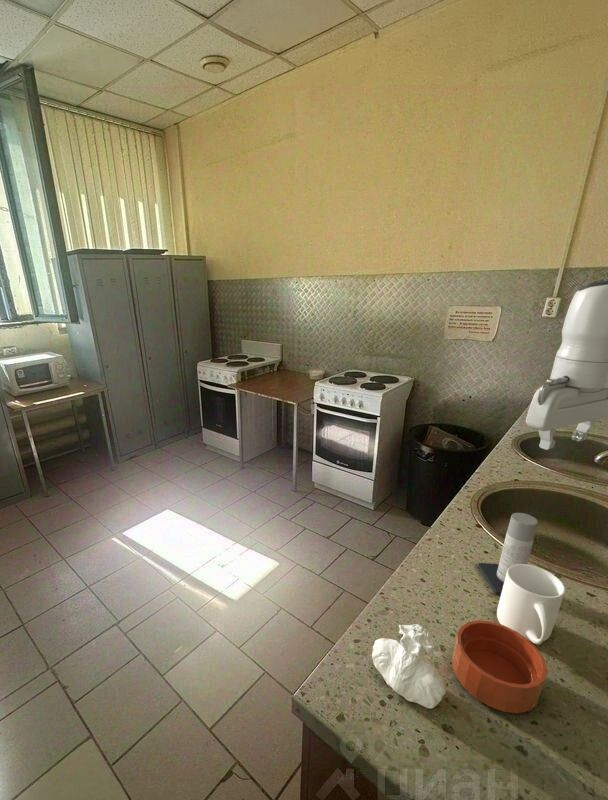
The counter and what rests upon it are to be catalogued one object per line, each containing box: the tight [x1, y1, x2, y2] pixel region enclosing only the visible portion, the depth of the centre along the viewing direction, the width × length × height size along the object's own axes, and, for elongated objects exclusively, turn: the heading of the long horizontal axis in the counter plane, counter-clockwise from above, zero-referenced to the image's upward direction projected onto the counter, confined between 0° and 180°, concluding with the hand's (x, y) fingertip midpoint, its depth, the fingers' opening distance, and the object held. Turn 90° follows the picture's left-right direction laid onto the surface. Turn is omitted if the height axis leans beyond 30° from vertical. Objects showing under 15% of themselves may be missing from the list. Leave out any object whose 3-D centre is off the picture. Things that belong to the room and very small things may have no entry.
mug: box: [496, 563, 566, 646], centre depth 71 cm, size 9×12×11 cm
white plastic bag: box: [371, 623, 447, 710], centre depth 63 cm, size 12×8×11 cm
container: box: [497, 512, 539, 582], centre depth 82 cm, size 5×5×15 cm
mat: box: [477, 562, 504, 596], centre depth 85 cm, size 9×9×1 cm
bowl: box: [451, 619, 548, 714], centre depth 64 cm, size 12×12×6 cm
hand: (562, 444), depth 76 cm, fingers open, 8 cm apart
